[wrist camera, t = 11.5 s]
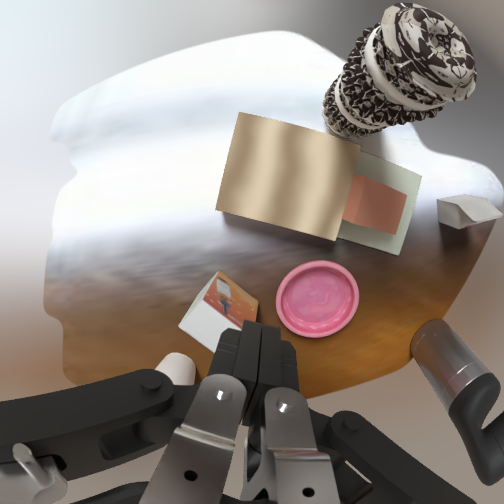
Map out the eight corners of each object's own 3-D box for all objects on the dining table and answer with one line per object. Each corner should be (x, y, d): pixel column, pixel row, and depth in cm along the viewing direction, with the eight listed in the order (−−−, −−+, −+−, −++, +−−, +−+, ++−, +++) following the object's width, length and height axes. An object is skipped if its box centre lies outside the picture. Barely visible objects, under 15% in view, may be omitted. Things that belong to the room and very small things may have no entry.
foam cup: (178, 388, 49) (158, 435, 37) (147, 356, 47) (119, 400, 35) (214, 374, 47) (199, 425, 35) (182, 338, 45) (157, 387, 33)
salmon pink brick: (395, 191, 36) (407, 195, 34) (384, 229, 37) (395, 234, 35) (353, 173, 32) (366, 176, 30) (341, 218, 34) (353, 223, 32)
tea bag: (436, 199, 36) (474, 208, 26) (464, 194, 35) (502, 201, 25) (438, 221, 36) (475, 235, 27) (466, 215, 36) (503, 227, 26)
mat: (421, 175, 35) (421, 176, 35) (397, 255, 38) (398, 255, 38) (352, 148, 35) (353, 148, 35) (329, 234, 39) (329, 235, 38)
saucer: (315, 340, 44) (318, 351, 41) (259, 298, 42) (258, 307, 39) (369, 288, 41) (375, 296, 38) (313, 238, 39) (317, 243, 36)
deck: (352, 148, 35) (361, 145, 31) (329, 234, 39) (335, 241, 35) (242, 118, 35) (239, 111, 31) (220, 206, 39) (215, 209, 35)
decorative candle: (313, 132, 35) (377, 68, 11) (323, 75, 32) (380, -30, 8) (373, 149, 35) (494, 131, 11) (382, 94, 32) (486, 29, 8)
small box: (259, 301, 42) (255, 338, 32) (236, 323, 44) (226, 363, 34) (219, 268, 41) (202, 298, 31) (197, 293, 43) (177, 327, 33)
